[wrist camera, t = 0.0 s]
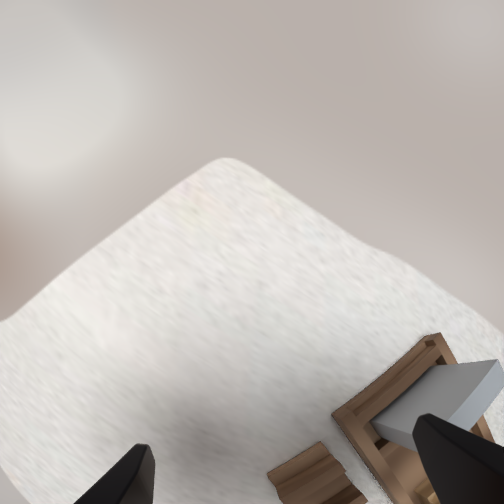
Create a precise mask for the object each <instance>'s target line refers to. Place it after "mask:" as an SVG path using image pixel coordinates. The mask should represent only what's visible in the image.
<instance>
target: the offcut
mask: <svg viewBox="0 0 504 504" xmlns="http://www.w3.org/2000/svg"><path fill="white" fill-rule="evenodd" d="M414 492H415V493H416V495H417V496H418V498H419V499H420V501H421V502H422V504H433V503H432V502H431V500H432V499H433V498H434V497H435V496H436V493H435V491H434V489H433V487H432V485H431V483H430V481H429V479H428V478H427V479H426V480H425V481H424V482H422V483H421V484H420V485H419V486H418V487H417V488H416V489H414Z"/></svg>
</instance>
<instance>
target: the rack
mask: <svg viewBox="0 0 504 504" xmlns="http://www.w3.org/2000/svg"><path fill="white" fill-rule="evenodd" d="M449 364H458V363H457V361H456V359H455V357H454V356H453V354H452V352H451V350H450V348H449V346H448V345H447V343H446V341H445V339H444V338H443V336H442V334H441V332H440V333H435V334H431V335H427V336H424V337H423V338H422V339H421V340H420V341H419V342H418V343H417V344H416V345H415V346H414V347H413V348H412V349H411V350H410V351H409V352H408V353H406V354H405V355H404V356H403V357H402V358H401V359H400V360H399V361H398V362H396V363H395V364H394V365H393V366H392V367H391V368H389V369H388V370H387V371H386V372H385V373H384V374H382V375H381V376H380V377H379V378H378V379H376V380H375V381H374V382H373V383H372V384H370V385H369V386H368V387H367V388H365V389H364V390H363V391H361V392H360V393H359V394H358V395H356V396H355V397H354V398H352V399H351V400H350V401H348V402H347V403H346V404H344V405H343V406H342V407H340V408H339V409H338V410H336V411H335V412H333V413H332V416H333V417H334V419H335V420H336V422H337V423H338V425H339V426H340V427H341V429H342V430H343V432H344V433H345V435H346V436H347V438H348V439H349V441H350V442H351V444H352V445H353V446H354V448H355V449H356V451H357V452H358V454H359V455H360V457H361V458H362V459H363V461H364V462H365V464H366V465H367V467H368V468H369V470H370V471H371V472H372V474H373V475H374V477H375V478H376V479H377V481H378V482H379V484H380V485H381V487H382V488H383V489H384V491H385V492H386V494H387V495H388V496H389V498H390V499H391V501H392V502H393V503H394V504H422V502H421V501H420V499H419V498H418V496H417V495H416V493H415V492H414V489H416V488H417V487H418V486H419V485H420V484H421V483H422V482H424V481H425V480H426V479H427V478H428V477H427V474H426V472H425V470H424V468H423V465H422V462H421V460H420V457H419V454H418V452H415V451H413V450H410V449H408V448H406V447H403V446H401V445H398V444H396V443H394V442H391V441H389V440H387V439H384V438H382V437H380V436H378V435H377V433H376V432H375V430H374V428H373V427H372V425H371V424H370V422H369V420H371V419H372V418H373V417H374V416H375V415H377V414H378V413H379V412H380V411H382V410H383V409H384V408H385V407H386V406H388V405H389V404H390V403H391V402H392V401H393V400H395V399H396V398H397V397H398V396H399V395H400V394H401V393H402V392H404V391H405V390H406V389H407V388H408V387H409V386H410V385H411V384H412V383H413V382H414V381H415V380H417V379H418V378H419V377H420V376H421V375H422V374H423V373H424V372H425V371H426V370H427V369H428V368H429V367H430V366H436V365H449ZM469 432H471V433H473V434H476V435H478V436H480V437H482V438H484V439H487V440H489V441H491V442H494V443H495V441H494V439H493V437H492V434H491V432H490V429H489V427H488V425H487V422H486V420H485V418H484V416H483V415H482V416H481V417H480V418H479V420H478V421H477V422H476V423H475V424H474V426H473V427H472V428H471V429H470V430H469Z"/></svg>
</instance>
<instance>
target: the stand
mask: <svg viewBox="0 0 504 504" xmlns="http://www.w3.org/2000/svg"><path fill="white" fill-rule="evenodd" d="M345 472H346V470H345V469H344V468H343V466H342V465H341V464H340V462H339V461H337V460H336V459H335V458H334V457H333V456H332V455H331V454H330V453H329V452H328V450H327V449H326V447H325V446H324V445H323V444H322V443H321V442H318V443H317V444H315V445H314V446H312V447H311V448H309V449H308V450H306V451H304V452H303V453H301V454H300V455H298V456H296V457H295V458H293V459H291V460H290V461H288V462H286V463H285V464H283V465H281V466H280V467H278V468H276V469H274V470H272V471H271V472H269V473H267V475H268V478H269V479H270V481H271V482H272V483H273V484H274V486H275V487H276V490H277V493H278V496H279V499H280V500H281V501H282V503H283V504H365V503H366V502H368V500H367V499H366V497H365V496H364V495H363V494H362V493H361V492H360V491H359V490H358V489H357V488H356V487H355V486H354V485H353V484H352V483H351V482H350V480H349V479H348V478H347V476H346V475H345V474H344V473H345Z"/></svg>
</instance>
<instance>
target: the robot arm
mask: <svg viewBox="0 0 504 504" xmlns="http://www.w3.org/2000/svg"><path fill="white" fill-rule="evenodd" d="M412 437H413V440H414V442H415V445H416V448H417V451H418V454H419V457H420V460H421V462H422V465H423V468H424V470H425V472H426V474H427V477H428V479H429V481H430V483H431V485H432V487H433V489H434V491H435V493H436V495H437V498H438V500H439V502H440V504H504V447H502V446H501V445H498V444H496V443H494V442H491V441H489V440H487V439H484V438H482V437H480V436H478V435H476V434H473V433H471V432H469V431H467V430H465V429H462V428H460V427H458V426H456V425H454V424H452V423H450V422H447V421H445V420H443V419H441V418H439V417H437V416H435V415H433V414H431V413H426V414H422V415H420V416H419V417H418V418H417V421H416V423H415V426H414V428H413V431H412ZM154 476H155V459H154V457H153V454H152V451H151V448H150V446H149V445H147V444H135V445H134V446H133V447H132V448H131V449H130V450H129V451H128V452H127V453H126V454H125V455H124V456H123V457H122V458H121V459H120V460H119V461H118V462H117V463H116V464H115V465H114V466H113V467H112V468H111V469H110V470H109V471H108V472H107V473H106V474H105V475H104V476H102V477H101V478H100V479H99V480H98V481H97V482H96V483H95V484H94V485H93V486H92V487H91V488H90V489H89V490H88V491H87V492H86V493H84V494H83V495H82V496H81V497H80V498H79V499H78V500H77V501H76V502H75V503H74V504H153V491H154Z"/></svg>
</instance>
